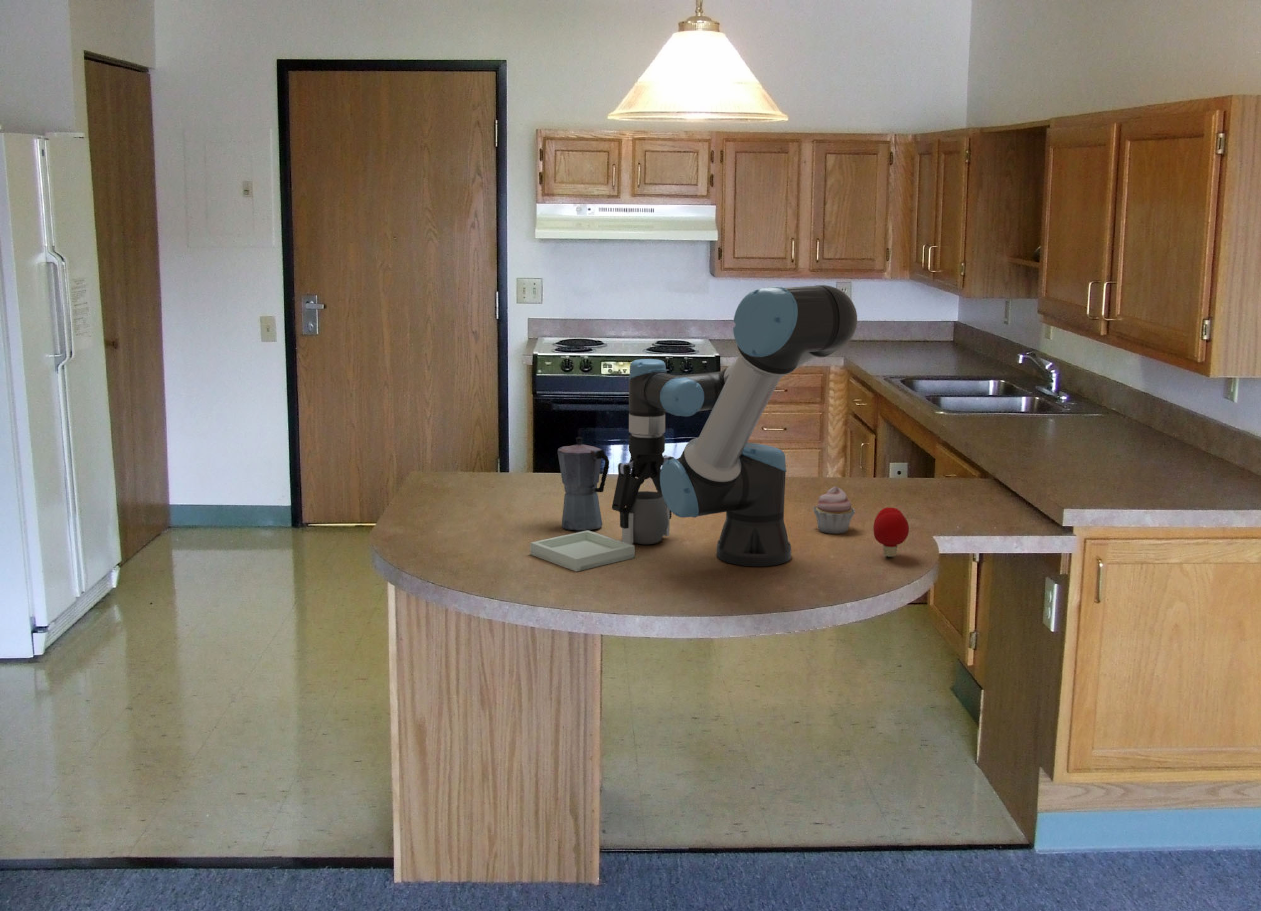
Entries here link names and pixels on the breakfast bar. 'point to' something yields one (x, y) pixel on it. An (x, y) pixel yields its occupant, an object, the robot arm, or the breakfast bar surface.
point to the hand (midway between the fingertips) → (645, 538)
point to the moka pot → (582, 485)
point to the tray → (582, 550)
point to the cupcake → (834, 512)
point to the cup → (649, 517)
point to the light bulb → (890, 530)
